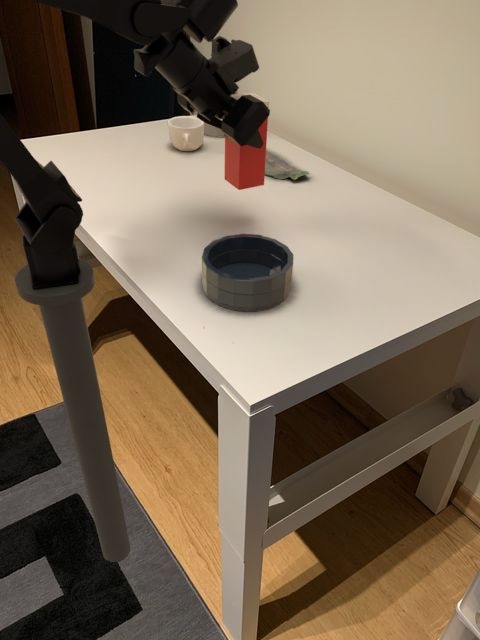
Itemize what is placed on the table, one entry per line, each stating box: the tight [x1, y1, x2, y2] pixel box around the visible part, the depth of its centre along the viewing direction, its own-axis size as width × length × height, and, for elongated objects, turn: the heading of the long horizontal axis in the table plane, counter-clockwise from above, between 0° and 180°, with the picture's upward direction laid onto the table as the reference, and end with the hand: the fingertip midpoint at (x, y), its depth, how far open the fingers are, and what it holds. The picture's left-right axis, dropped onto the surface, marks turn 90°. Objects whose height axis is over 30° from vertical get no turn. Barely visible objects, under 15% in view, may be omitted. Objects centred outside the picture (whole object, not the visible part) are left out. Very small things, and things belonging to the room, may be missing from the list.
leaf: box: [265, 150, 311, 180], centre depth 115 cm, size 20×8×1 cm, turn 32°
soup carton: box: [224, 92, 270, 191], centre depth 87 cm, size 5×5×13 cm
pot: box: [201, 233, 294, 313], centre depth 78 cm, size 13×13×5 cm
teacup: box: [167, 115, 205, 152], centre depth 118 cm, size 10×8×5 cm
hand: (253, 140), depth 87 cm, fingers closed on soup carton, 5 cm apart
